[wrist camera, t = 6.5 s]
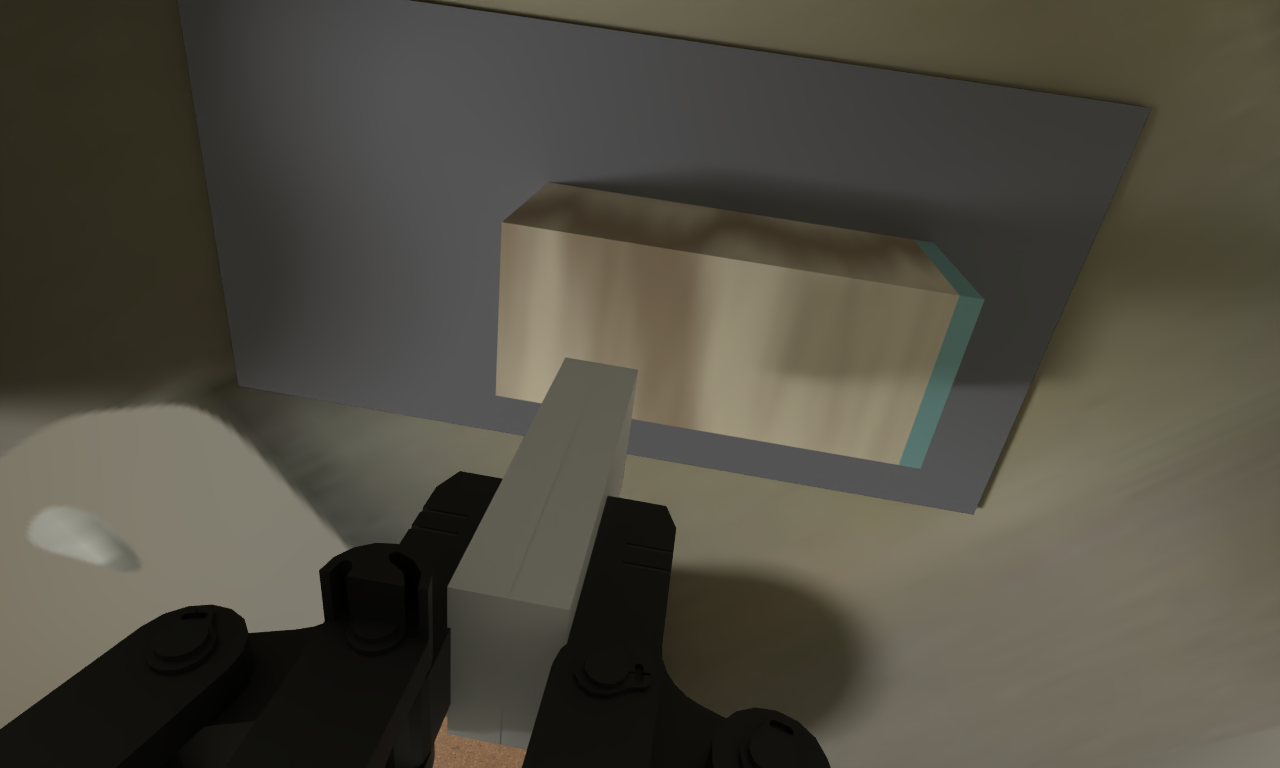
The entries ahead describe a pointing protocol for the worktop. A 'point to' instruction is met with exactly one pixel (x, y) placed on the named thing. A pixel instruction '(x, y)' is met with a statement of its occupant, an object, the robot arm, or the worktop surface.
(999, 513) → the worktop surface
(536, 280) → the birch block
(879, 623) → the worktop surface
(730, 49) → the rubber mat
